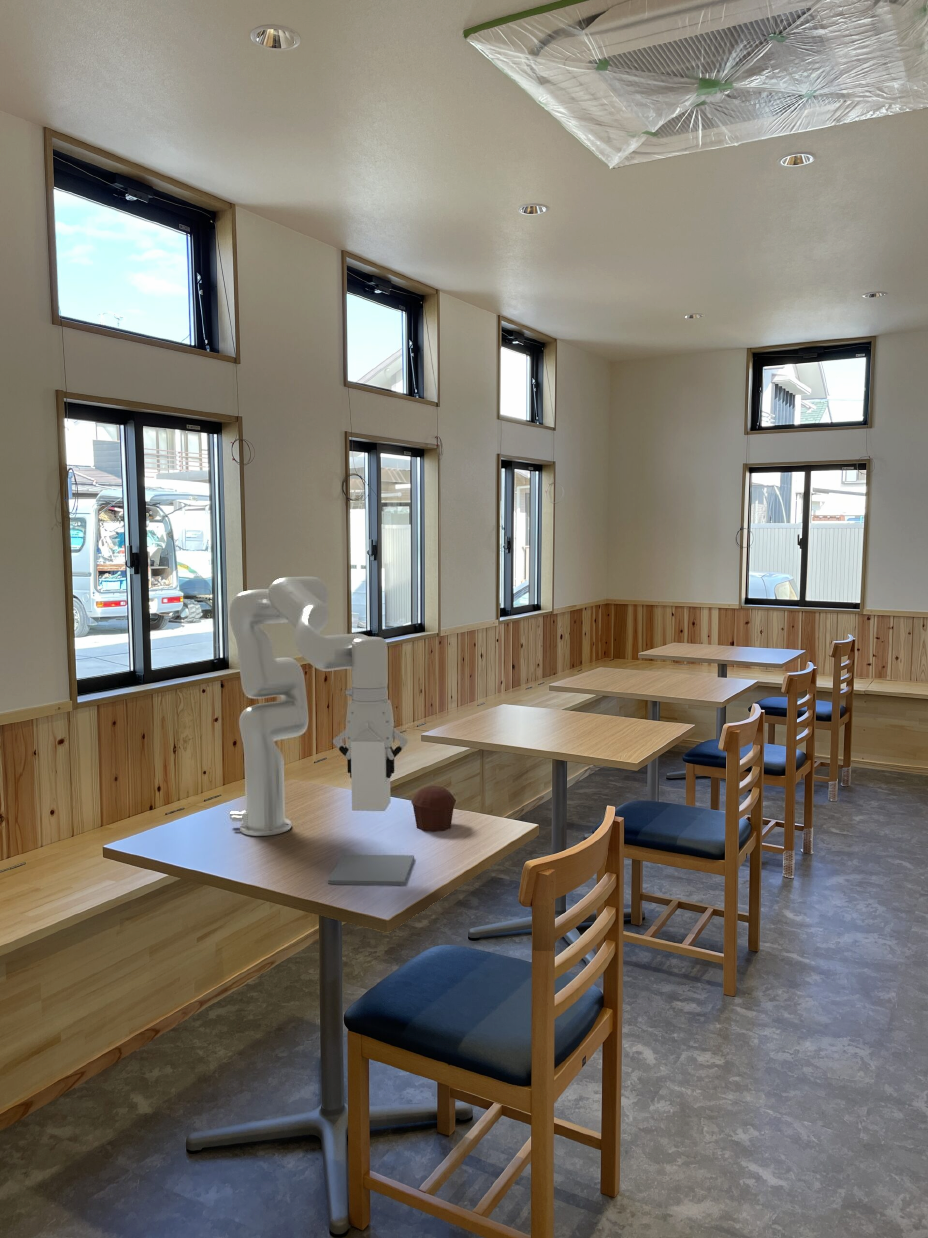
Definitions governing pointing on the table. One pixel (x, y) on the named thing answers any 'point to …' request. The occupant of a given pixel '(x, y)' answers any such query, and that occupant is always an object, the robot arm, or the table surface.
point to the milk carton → (369, 775)
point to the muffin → (433, 808)
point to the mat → (372, 869)
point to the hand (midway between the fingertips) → (371, 776)
